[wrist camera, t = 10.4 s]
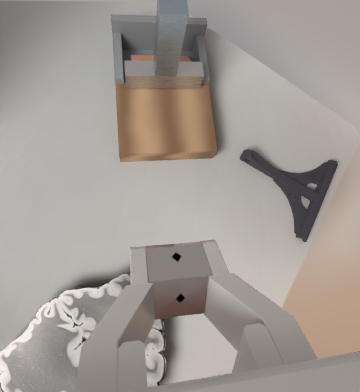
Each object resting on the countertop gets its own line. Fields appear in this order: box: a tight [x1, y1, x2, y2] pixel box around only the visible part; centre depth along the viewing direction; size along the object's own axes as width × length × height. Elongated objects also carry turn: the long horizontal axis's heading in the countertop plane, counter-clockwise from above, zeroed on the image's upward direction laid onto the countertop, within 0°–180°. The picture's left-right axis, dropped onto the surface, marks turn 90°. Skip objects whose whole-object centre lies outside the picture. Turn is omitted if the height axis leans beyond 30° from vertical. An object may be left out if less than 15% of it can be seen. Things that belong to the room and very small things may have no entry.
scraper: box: [124, 0, 204, 88], centre depth 35 cm, size 11×2×13 cm, turn 96°
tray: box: [111, 15, 210, 84], centre depth 42 cm, size 14×9×6 cm, turn 95°
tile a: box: [131, 55, 154, 61], centre depth 42 cm, size 4×4×2 cm
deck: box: [116, 84, 217, 162], centre depth 42 cm, size 14×11×3 cm
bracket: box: [240, 150, 338, 242], centre depth 43 cm, size 14×15×3 cm
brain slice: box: [0, 273, 166, 392], centre depth 34 cm, size 20×17×3 cm
